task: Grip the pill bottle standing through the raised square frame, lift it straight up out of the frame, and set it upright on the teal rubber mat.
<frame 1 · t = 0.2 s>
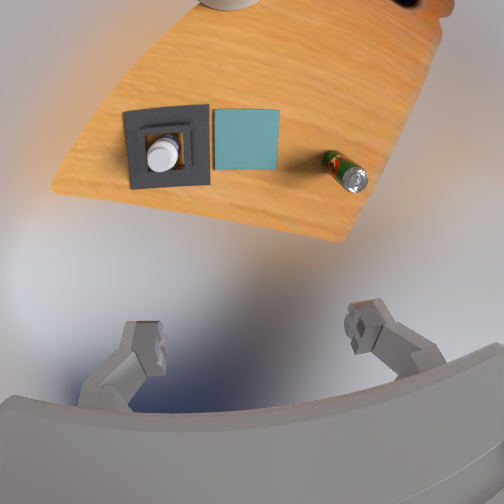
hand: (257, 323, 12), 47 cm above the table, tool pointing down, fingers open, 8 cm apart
soda can: (332, 161, 57), on the table
mat: (246, 139, 53), on the table
pill bottle: (168, 147, 52), resting in square frame
square frame: (167, 147, 52), on the table
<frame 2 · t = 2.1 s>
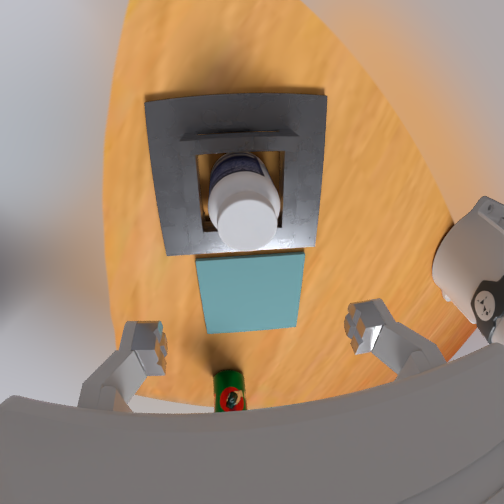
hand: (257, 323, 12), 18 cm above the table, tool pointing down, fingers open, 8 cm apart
soda can: (228, 375, 45), on the table
mat: (251, 295, 36), on the table
pill bottle: (238, 176, 27), resting in square frame
square frame: (238, 177, 27), on the table
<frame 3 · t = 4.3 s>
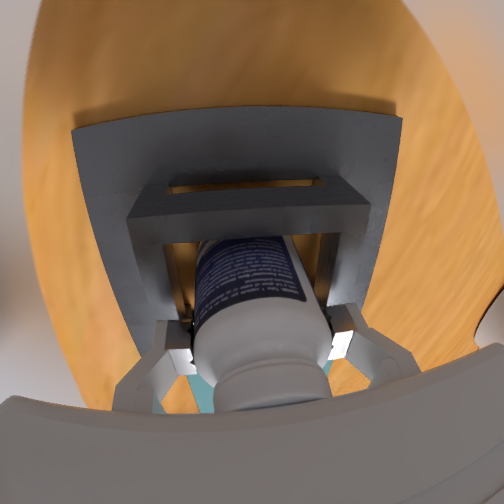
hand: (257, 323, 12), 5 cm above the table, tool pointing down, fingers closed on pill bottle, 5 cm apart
mat: (260, 389, 25), on the table
pill bottle: (244, 252, 16), resting in square frame, touching gripper
square frame: (245, 255, 16), on the table
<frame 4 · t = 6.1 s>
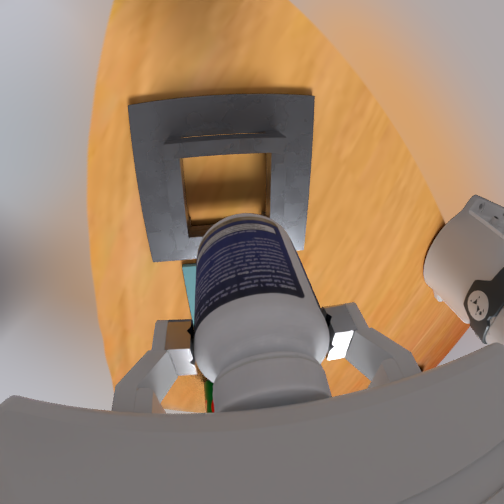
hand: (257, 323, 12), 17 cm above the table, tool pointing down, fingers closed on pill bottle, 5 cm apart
soda can: (219, 381, 44), on the table
mat: (239, 301, 35), on the table
pill bottle: (244, 251, 17), point 12 cm above the table, touching gripper
square frame: (224, 180, 26), on the table
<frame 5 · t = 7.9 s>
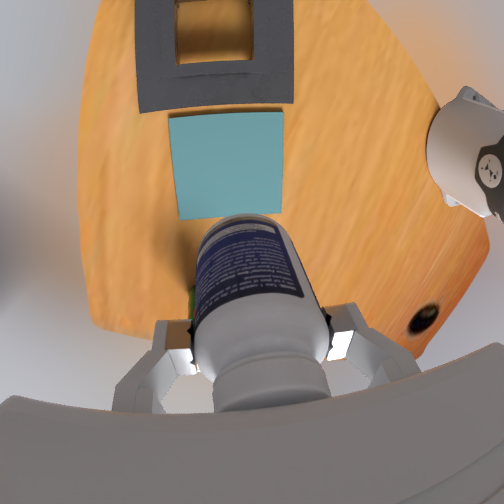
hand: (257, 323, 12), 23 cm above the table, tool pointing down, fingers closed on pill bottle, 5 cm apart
mat: (228, 166, 31), on the table
pill bottle: (244, 251, 17), point 17 cm above the table, touching gripper
square frame: (214, 33, 23), on the table
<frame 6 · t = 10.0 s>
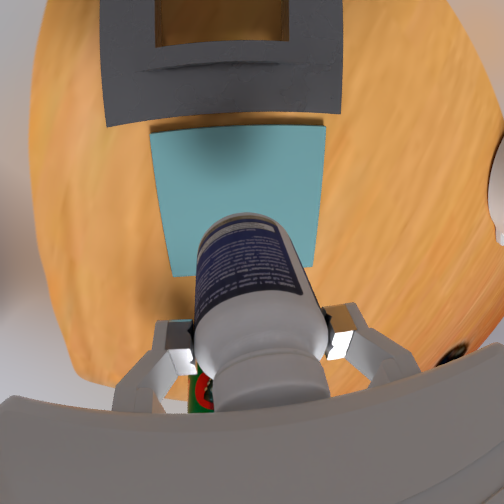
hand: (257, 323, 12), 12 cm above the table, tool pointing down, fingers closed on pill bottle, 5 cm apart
soda can: (211, 353, 32), on the table
mat: (240, 204, 22), on the table
pill bottle: (244, 250, 17), point 6 cm above the table, touching gripper
square frame: (220, 2, 13), on the table
when the fingers open (7 cm above the table, at t = 11.9 s): pill bottle stays where it is, resting on mat.
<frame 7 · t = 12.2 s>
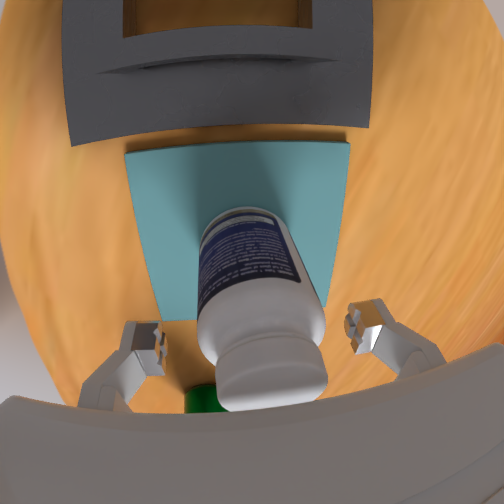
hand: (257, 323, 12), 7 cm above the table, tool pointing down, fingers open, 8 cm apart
soda can: (208, 392, 28), on the table
mat: (242, 239, 18), on the table
pill bottle: (244, 243, 18), resting on mat
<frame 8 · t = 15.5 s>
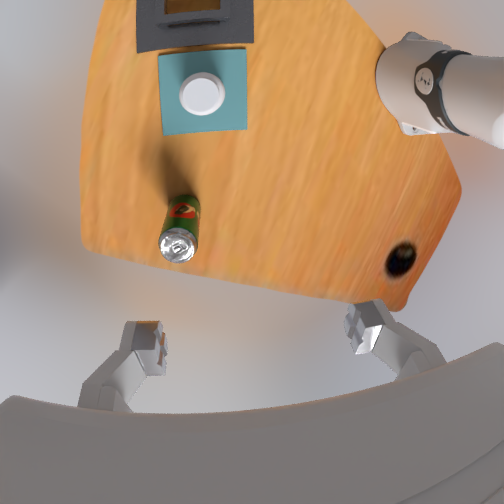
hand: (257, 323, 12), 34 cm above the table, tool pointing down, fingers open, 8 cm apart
soda can: (185, 207, 45), on the table
mat: (203, 91, 36), on the table
pill bottle: (204, 91, 35), resting on mat
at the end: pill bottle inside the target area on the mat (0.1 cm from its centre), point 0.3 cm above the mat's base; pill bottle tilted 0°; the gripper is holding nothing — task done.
